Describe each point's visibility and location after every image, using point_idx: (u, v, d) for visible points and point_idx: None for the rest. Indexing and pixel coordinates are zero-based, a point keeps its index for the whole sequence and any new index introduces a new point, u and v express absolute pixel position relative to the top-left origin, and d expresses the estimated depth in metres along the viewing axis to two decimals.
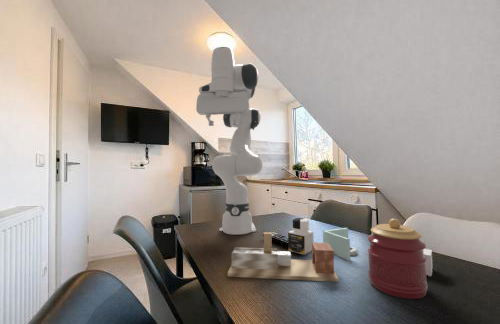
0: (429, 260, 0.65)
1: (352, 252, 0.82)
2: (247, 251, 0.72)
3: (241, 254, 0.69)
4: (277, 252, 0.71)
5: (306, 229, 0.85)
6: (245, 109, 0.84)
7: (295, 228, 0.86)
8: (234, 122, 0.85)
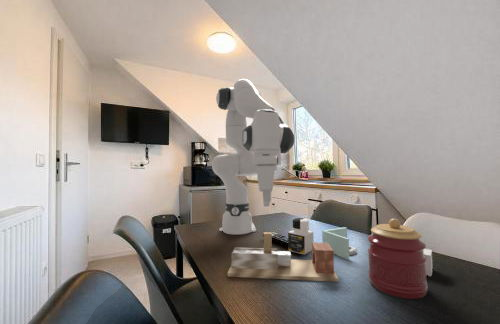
0: (429, 260, 0.65)
1: (351, 252, 0.82)
2: (247, 251, 0.72)
3: (241, 254, 0.69)
4: (277, 252, 0.71)
5: (306, 229, 0.85)
6: None
7: (295, 228, 0.86)
8: (270, 199, 0.76)
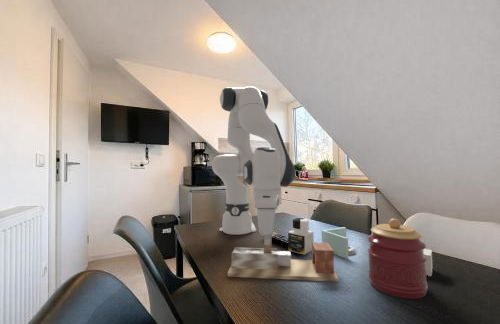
0: (429, 260, 0.65)
1: (350, 251, 0.83)
2: (247, 251, 0.72)
3: (241, 254, 0.69)
4: (277, 252, 0.71)
5: (306, 229, 0.85)
6: None
7: (295, 228, 0.86)
8: None
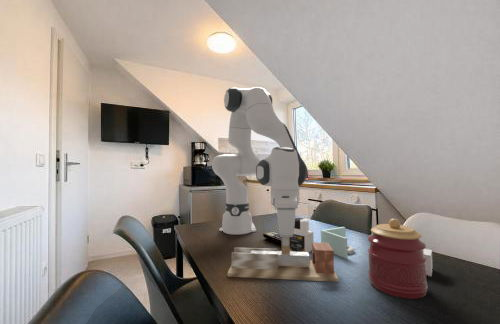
0: (429, 260, 0.65)
1: (349, 251, 0.83)
2: (264, 252, 0.71)
3: (241, 254, 0.69)
4: (295, 253, 0.70)
5: (306, 229, 0.85)
6: None
7: (295, 228, 0.86)
8: None
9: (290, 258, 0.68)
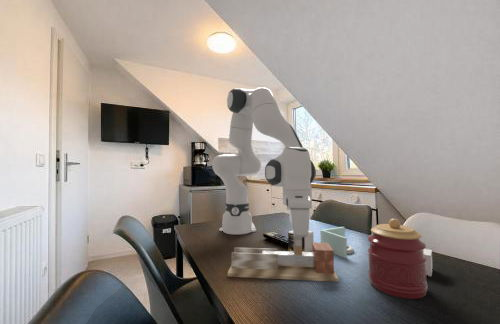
0: (429, 260, 0.65)
1: (349, 250, 0.83)
2: (276, 252, 0.71)
3: (241, 254, 0.69)
4: (307, 253, 0.70)
5: None
6: None
7: None
8: None
9: (303, 258, 0.68)
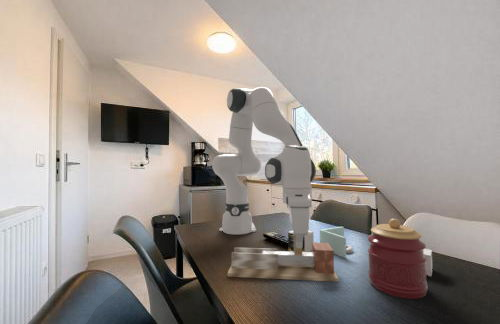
0: (429, 260, 0.65)
1: (348, 250, 0.84)
2: (276, 252, 0.71)
3: (241, 254, 0.69)
4: (307, 253, 0.70)
5: None
6: None
7: None
8: None
9: (303, 258, 0.68)
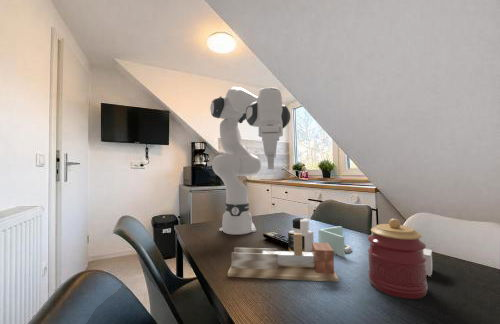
0: (429, 260, 0.65)
1: (346, 249, 0.84)
2: (276, 252, 0.71)
3: (241, 254, 0.69)
4: (307, 253, 0.70)
5: (306, 229, 0.85)
6: None
7: (295, 228, 0.86)
8: (273, 167, 0.87)
9: (303, 258, 0.68)
